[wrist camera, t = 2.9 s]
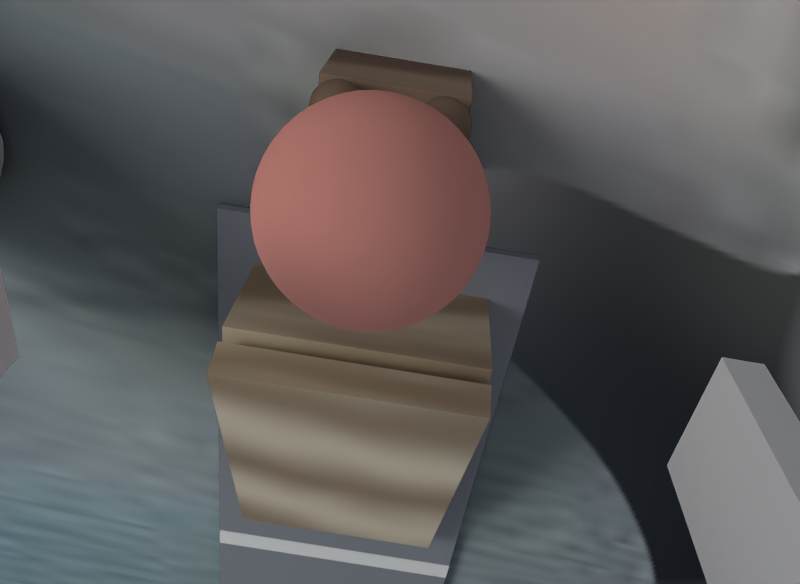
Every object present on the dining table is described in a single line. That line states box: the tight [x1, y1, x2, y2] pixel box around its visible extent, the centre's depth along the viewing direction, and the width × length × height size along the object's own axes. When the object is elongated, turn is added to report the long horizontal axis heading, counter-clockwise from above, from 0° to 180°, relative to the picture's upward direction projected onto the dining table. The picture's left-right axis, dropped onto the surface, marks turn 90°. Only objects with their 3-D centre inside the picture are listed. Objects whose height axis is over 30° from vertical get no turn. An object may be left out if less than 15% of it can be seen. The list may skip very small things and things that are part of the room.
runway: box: [217, 204, 539, 584], centre depth 30 cm, size 30×12×6 cm, turn 172°
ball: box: [250, 90, 491, 332], centre depth 17 cm, size 6×6×6 cm
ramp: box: [206, 262, 492, 548], centre depth 27 cm, size 14×9×6 cm, turn 172°
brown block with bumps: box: [309, 49, 472, 140], centre depth 21 cm, size 5×5×4 cm
